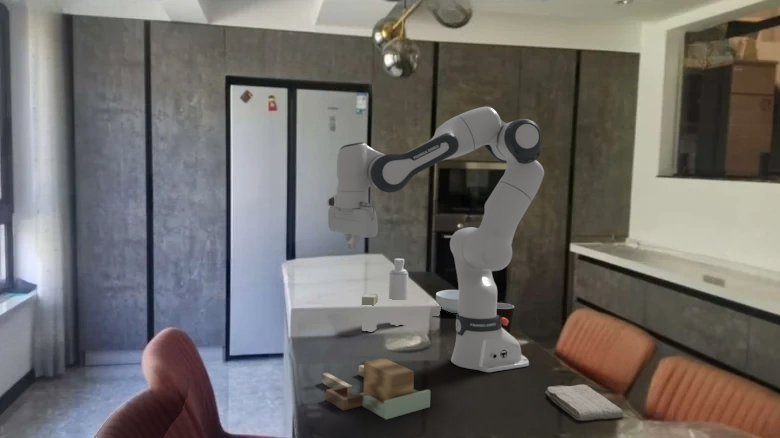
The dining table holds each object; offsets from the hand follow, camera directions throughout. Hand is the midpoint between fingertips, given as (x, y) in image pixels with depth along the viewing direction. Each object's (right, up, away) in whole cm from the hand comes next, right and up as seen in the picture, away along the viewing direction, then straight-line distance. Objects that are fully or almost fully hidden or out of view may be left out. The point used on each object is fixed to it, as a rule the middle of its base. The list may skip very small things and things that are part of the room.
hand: (352, 250), depth 176 cm
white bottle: (+13, -29, +48) cm, 58 cm away
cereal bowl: (+37, -28, +69) cm, 82 cm away
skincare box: (+4, -30, +39) cm, 49 cm away
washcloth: (+57, -37, -24) cm, 72 cm away
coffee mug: (+48, -31, +39) cm, 69 cm away
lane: (+6, -35, -19) cm, 40 cm away
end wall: (+15, -36, -31) cm, 50 cm away
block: (+10, -36, -25) cm, 45 cm away
